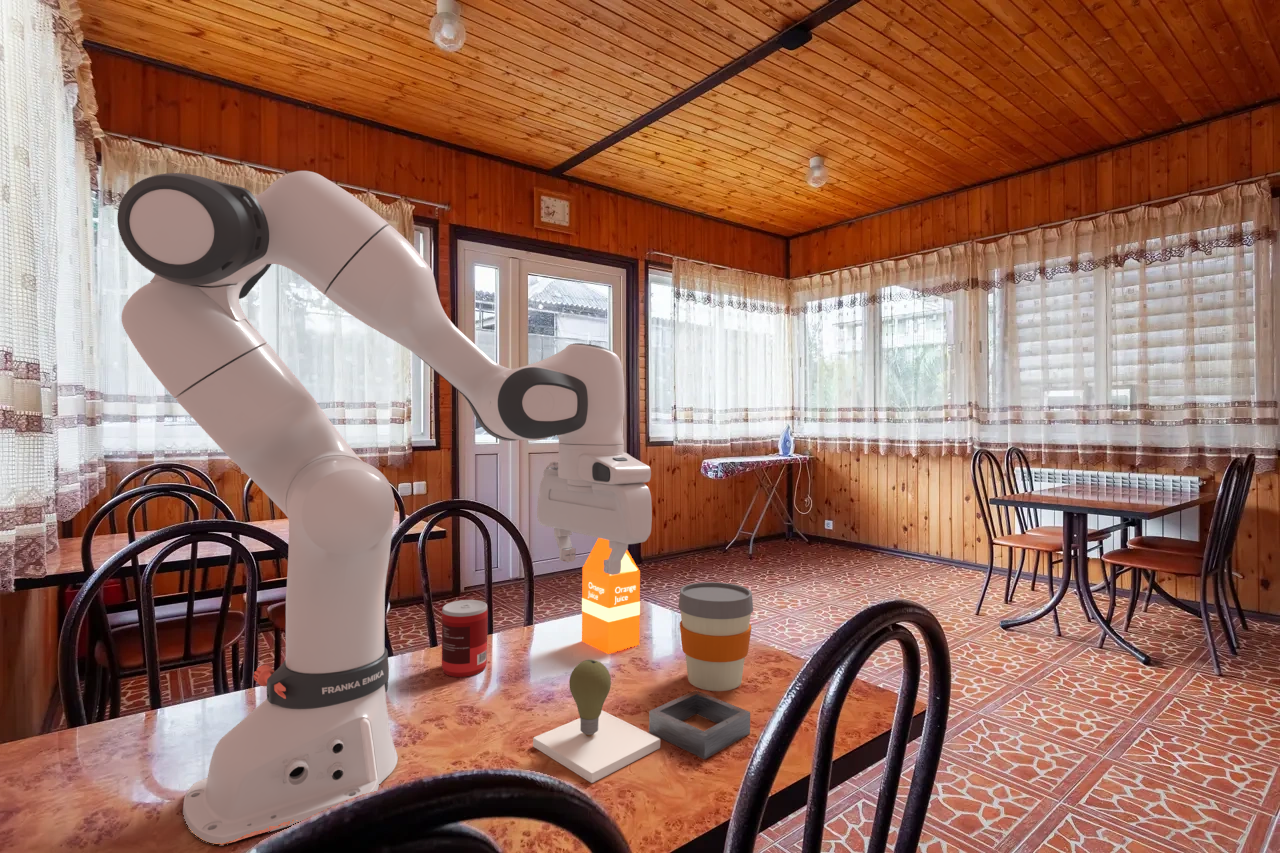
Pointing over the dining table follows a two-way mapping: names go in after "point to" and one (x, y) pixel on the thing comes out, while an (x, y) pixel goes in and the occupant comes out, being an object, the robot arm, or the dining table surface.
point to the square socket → (692, 739)
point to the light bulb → (590, 692)
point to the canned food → (464, 638)
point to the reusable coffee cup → (715, 633)
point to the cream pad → (596, 746)
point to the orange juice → (610, 602)
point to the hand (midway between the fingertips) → (588, 567)
